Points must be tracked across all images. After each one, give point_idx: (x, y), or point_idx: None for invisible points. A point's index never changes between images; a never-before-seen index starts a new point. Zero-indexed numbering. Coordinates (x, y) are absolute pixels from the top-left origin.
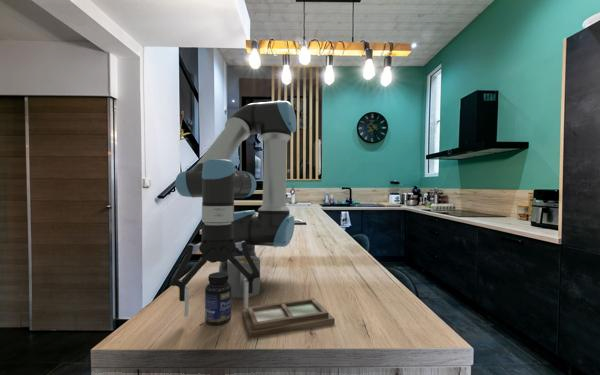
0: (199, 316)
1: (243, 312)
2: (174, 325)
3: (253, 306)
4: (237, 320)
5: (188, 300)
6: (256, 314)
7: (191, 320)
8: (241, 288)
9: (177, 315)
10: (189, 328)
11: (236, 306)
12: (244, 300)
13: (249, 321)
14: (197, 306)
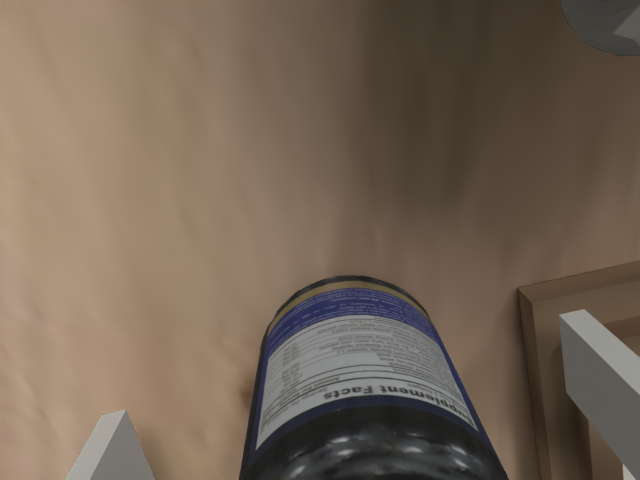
0: (199, 289)
1: (537, 351)
2: (75, 397)
3: (634, 339)
4: (481, 367)
5: (93, 475)
6: None
7: (162, 342)
8: (582, 40)
9: (21, 258)
10: (189, 437)
11: (469, 132)
12: (589, 388)
13: (569, 472)
14: (116, 96)
